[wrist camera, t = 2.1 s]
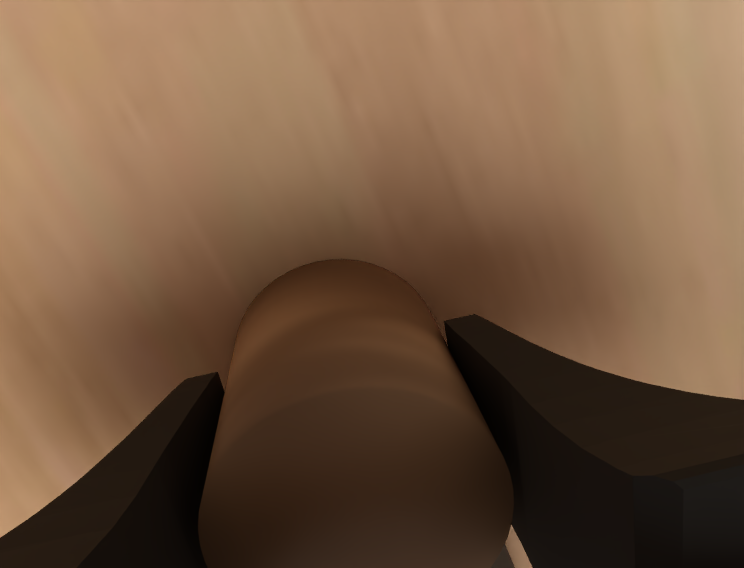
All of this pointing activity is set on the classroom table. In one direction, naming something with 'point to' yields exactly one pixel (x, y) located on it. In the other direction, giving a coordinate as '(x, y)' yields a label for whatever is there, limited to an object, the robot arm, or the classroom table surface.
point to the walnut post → (350, 435)
